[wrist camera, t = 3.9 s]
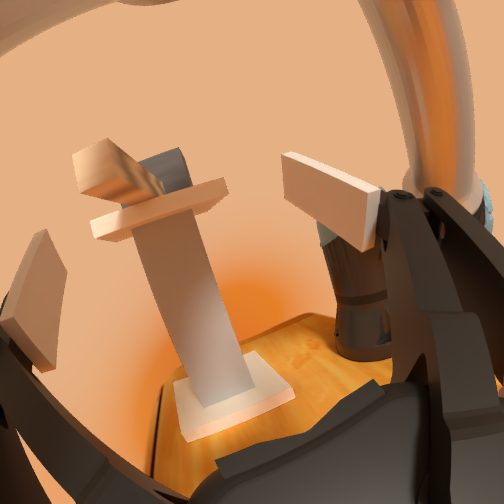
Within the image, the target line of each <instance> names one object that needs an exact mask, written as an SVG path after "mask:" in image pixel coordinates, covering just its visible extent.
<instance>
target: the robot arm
mask: <svg viewBox="0 0 504 504" xmlns="http://www.w3.org/2000/svg"><path fill="white" fill-rule="evenodd" d="M116 1H117V2H120V3H124V4H130V5H140V6H149V5H159V4H165V3H169V2H173V1H177V0H0V57H2V56H3V55H4V54H6V53H8V52H9V51H11V50H12V49H14V48H16V47H17V46H19V45H20V44H22V43H24V42H26V41H27V40H29V39H31V38H33V37H34V36H36V35H38V34H40V33H42V32H43V31H46V30H47V29H50V28H52V27H53V26H56V25H58V24H60V23H62V22H64V21H66V20H69V19H71V18H73V17H75V16H78V15H80V14H83V13H85V12H88V11H90V10H93V9H96V8H98V7H101V6H104V5H107V4H110V3H113V2H116ZM358 2H359V4H360V6H361V8H362V10H363V13H364V15H365V17H366V19H367V22H368V24H369V26H370V29H371V31H372V34H373V36H374V38H375V41H376V44H377V46H378V49H379V52H380V54H381V57H382V60H383V63H384V65H385V69H386V72H387V75H388V78H389V81H390V84H391V88H392V91H393V94H394V98H395V101H396V105H397V109H398V113H399V117H400V121H401V125H402V129H403V134H404V138H405V143H406V148H407V153H408V158H409V164H410V168H409V169H408V171H407V172H406V174H405V176H404V179H403V183H402V185H403V190H391V191H389V192H386V191H385V190H384V189H383V188H382V187H378V188H377V187H375V186H373V185H371V184H369V183H367V182H364V181H362V180H360V179H358V178H356V177H354V176H351V175H349V174H347V173H344V172H342V171H339V170H338V169H335V168H333V167H330V166H328V165H326V164H323V163H321V162H318V161H316V160H313V159H311V158H308V157H306V156H303V155H300V154H298V153H295V152H288V153H284V154H281V158H282V171H283V184H284V198H285V199H286V200H288V201H289V202H291V203H292V204H294V205H295V206H297V207H298V208H300V209H301V210H303V211H304V212H305V213H307V214H308V215H310V216H311V217H313V218H314V219H316V220H317V229H318V233H319V237H320V242H321V243H320V246H321V247H322V249H323V252H324V256H325V260H326V263H327V267H328V270H329V274H330V278H331V281H332V285H333V289H334V293H335V296H336V301H337V314H336V324H335V333H334V338H335V343H336V347H337V350H338V352H339V353H340V354H341V355H342V356H344V357H345V358H348V359H351V360H355V361H377V360H383V359H387V358H390V357H392V361H393V373H392V378H391V383H390V384H386V385H382V386H379V385H378V383H377V382H376V381H375V380H374V379H372V380H371V381H369V382H368V383H366V384H365V385H363V386H362V387H360V388H359V389H357V390H356V391H354V392H353V393H351V394H349V395H348V396H346V397H345V398H343V399H341V400H340V401H339V402H338V403H337V404H336V405H335V406H334V407H333V408H332V409H331V410H330V411H329V412H328V413H327V414H326V415H325V416H324V417H323V418H322V419H321V420H320V421H319V422H318V423H317V424H315V425H314V426H313V427H312V428H311V429H310V430H308V431H307V432H305V433H301V434H297V435H293V436H289V437H285V438H281V439H276V440H271V441H267V442H261V443H257V444H255V445H252V446H250V447H248V448H245V449H243V450H240V451H238V452H235V453H233V454H230V455H228V456H225V457H222V458H219V459H217V460H215V462H216V464H217V466H218V468H219V469H217V470H216V471H214V472H213V473H212V474H210V475H209V476H208V477H207V478H206V479H204V481H203V482H202V483H201V484H200V485H199V486H198V487H197V488H196V490H195V491H194V493H193V494H192V496H191V498H190V499H189V498H187V497H185V496H183V495H181V494H179V493H177V492H175V491H173V490H171V489H169V488H167V487H165V486H164V485H162V484H160V483H158V482H157V481H155V480H154V479H152V478H151V477H149V476H147V475H146V474H144V473H143V472H141V471H140V470H139V469H137V468H136V467H134V466H133V465H131V464H130V463H129V462H127V461H126V460H125V459H123V458H122V457H120V456H119V455H118V454H116V453H115V452H114V451H113V450H111V449H110V448H109V447H108V446H107V445H105V444H104V443H103V442H102V441H100V440H99V439H98V438H97V437H96V436H95V435H93V434H92V433H91V432H90V431H89V430H88V429H87V428H86V427H84V426H83V425H82V424H81V423H80V422H79V421H78V420H77V419H76V418H75V417H73V416H72V414H70V413H69V412H68V410H67V409H65V407H64V406H63V405H62V404H61V403H59V401H58V400H57V399H56V398H55V397H54V396H53V395H52V394H51V393H50V392H49V391H48V389H47V388H46V387H45V386H44V385H43V384H42V383H41V382H40V380H39V379H38V378H37V377H36V376H35V375H34V374H33V373H32V365H34V366H35V367H36V368H37V369H38V370H39V371H40V372H41V373H44V372H47V371H51V370H54V369H56V357H57V344H58V333H59V323H60V315H61V307H62V300H63V294H64V288H65V282H66V276H67V271H66V269H65V267H64V265H63V263H62V261H61V259H60V257H59V255H58V253H57V251H56V249H55V247H54V244H53V242H52V240H51V238H50V236H49V234H48V231H47V229H44V230H42V231H40V232H38V233H35V234H34V237H33V238H32V240H31V242H30V244H29V247H28V249H27V251H26V253H25V255H24V257H23V259H22V262H21V264H20V266H19V269H18V271H17V273H16V275H15V278H14V281H13V283H12V285H11V288H10V291H9V292H8V294H7V295H6V296H5V298H4V300H3V303H2V306H1V308H0V504H52V503H51V501H50V500H49V498H48V496H47V495H46V493H45V491H44V489H43V487H42V486H41V484H40V482H39V480H38V478H37V476H36V474H35V472H34V470H33V468H32V466H31V464H30V462H29V460H28V457H27V455H26V453H25V450H24V448H23V446H22V443H21V441H20V438H19V436H18V433H17V431H18V432H19V434H20V435H21V437H22V438H23V440H24V441H25V442H26V444H27V445H28V446H29V448H30V449H31V451H32V452H33V453H34V455H35V456H36V457H37V458H38V460H39V461H40V462H41V463H42V465H43V466H44V467H45V468H46V470H47V471H48V472H49V473H50V474H51V475H52V477H53V478H54V479H55V480H56V481H57V482H58V483H59V484H60V485H61V487H62V488H63V489H64V490H65V491H66V492H67V493H68V494H69V495H70V496H71V497H72V498H73V499H74V501H75V502H76V504H504V247H503V246H502V245H501V244H500V243H499V242H498V241H497V239H496V238H495V237H494V236H493V235H492V229H493V218H492V215H491V212H492V211H493V209H492V203H491V199H490V196H489V193H488V190H487V188H486V186H485V184H484V183H483V182H482V180H481V179H480V178H479V176H478V175H477V173H476V172H475V171H474V163H475V122H474V106H473V93H472V84H471V75H470V68H469V62H468V57H467V50H466V45H465V41H464V36H463V31H462V27H461V23H460V19H459V16H458V12H457V9H456V5H455V2H454V0H358ZM494 374H495V376H496V378H497V379H498V380H499V382H500V383H501V385H502V386H503V387H502V388H501V389H500V391H499V395H498V391H497V386H496V381H495V376H494ZM498 396H499V397H498ZM16 429H17V431H16Z"/></svg>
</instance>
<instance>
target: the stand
mask: <svg viewBox="0 0 504 504" xmlns="http://www.w3.org/2000/svg"><path fill="white" fill-rule="evenodd" d="M228 194H229V192H228V189H227V186H226V183H225V180H224V178H219V179H216V180H212V181H209V182H205V183H202V184H199V185H195V186H191V187H188V188H185V189H182V190H178V191H175V192H172V193H169V194H166V195H162V196H159V197H156V198H153V199H150V200H147V201H144V202H141V203H138V204H135V205H133V206H130V207H127V208H124V209H121V210H118V211H116V212H113V213H110V214H108V215H105V216H102V217H100V218H97V219H94V220H92V221H90V224H91V228H92V231H93V235H94V239H101V240H106V241H112V242H118V241H121V240H124V239H127V238H130V237H132V236H133V237H134V240H135V243H136V246H137V249H138V253H139V255H140V258H141V262H142V264H143V267H144V270H145V273H146V276H147V279H148V281H149V284H150V287H151V290H152V292H153V295H154V298H155V300H156V303H157V306H158V308H159V311H160V313H161V316H162V318H163V321H164V323H165V326H166V328H167V330H168V333H169V335H170V337H171V340H172V342H173V344H174V347H175V349H176V351H177V353H178V356H179V358H180V360H181V362H182V365H183V367H184V369H185V371H186V373H187V375H188V377H186V378H183V379H181V380H178V381H175V382H173V386H174V393H175V400H176V407H177V413H178V419H179V425H180V430H181V434H182V435H183V437H184V439H185V440H186V442H187V443H189V442H192V441H195V440H198V439H200V438H203V437H206V436H209V435H212V434H214V433H217V432H220V431H222V430H225V429H227V428H230V427H232V426H235V425H237V424H240V423H242V422H245V421H247V420H249V419H252V418H254V417H256V416H258V415H261V414H263V413H265V412H267V411H269V410H271V409H274V408H276V407H278V406H280V405H282V404H284V403H286V402H288V401H290V400H292V399H294V398H296V397H295V394H294V391H293V388H292V386H291V385H290V384H288V383H287V382H286V381H285V380H284V379H283V378H282V377H281V376H280V375H279V374H278V373H277V372H276V371H275V370H274V369H273V368H272V367H271V366H270V365H269V364H268V363H267V362H266V361H265V360H264V359H263V358H262V357H261V356H260V355H259V354H258V353H257V352H256V351H255V350H254V351H252V352H249V353H247V354H245V355H243V354H242V351H241V349H240V346H239V343H238V341H237V338H236V336H235V333H234V330H233V327H232V325H231V322H230V319H229V317H228V314H227V311H226V308H225V305H224V303H223V300H222V297H221V294H220V291H219V289H218V286H217V283H216V280H215V278H214V274H213V271H212V269H211V266H210V263H209V260H208V257H207V254H206V251H205V248H204V245H203V242H202V239H201V236H200V233H199V229H198V226H197V223H196V220H195V217H194V216H195V215H198V214H201V213H204V212H207V211H208V210H210V209H211V208H212V207H213V206H214V205H216V204H217V203H218V202H219V201H220V200H222V199H223V198H224V197H225V196H227V195H228Z"/></svg>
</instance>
